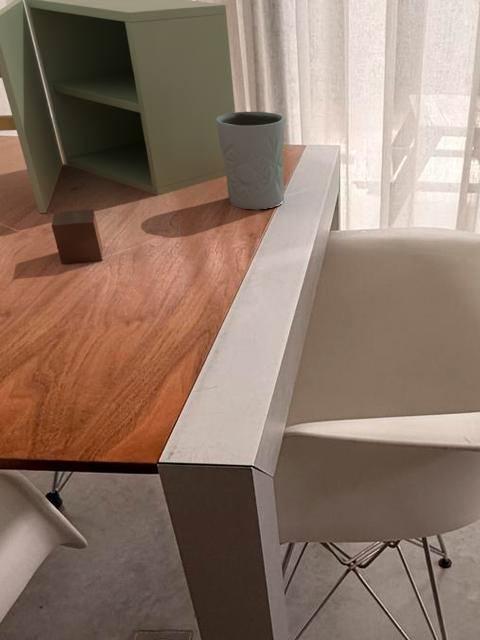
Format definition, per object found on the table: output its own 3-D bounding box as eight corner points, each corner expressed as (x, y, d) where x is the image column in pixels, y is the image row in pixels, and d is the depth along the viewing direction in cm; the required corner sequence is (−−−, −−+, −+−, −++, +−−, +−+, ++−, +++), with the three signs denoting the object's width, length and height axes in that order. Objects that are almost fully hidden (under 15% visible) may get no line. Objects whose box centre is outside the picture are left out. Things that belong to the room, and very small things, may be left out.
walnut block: (61, 264, 88) (51, 225, 84) (63, 250, 91) (53, 212, 88) (102, 260, 89) (93, 222, 85) (102, 246, 92) (93, 209, 89)
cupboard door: (-10, 216, 100) (-74, 19, 85) (16, 166, 120) (-32, -2, 104) (46, 213, 102) (-7, 18, 86) (63, 164, 121) (22, -1, 106)
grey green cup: (243, 216, 103) (235, 128, 95) (213, 198, 109) (203, 114, 101) (300, 204, 108) (297, 120, 100) (268, 188, 114) (263, 107, 106)
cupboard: (158, 196, 109) (128, 12, 94) (64, 164, 122) (23, -3, 106) (240, 172, 120) (225, 4, 105) (146, 145, 133) (120, -9, 117)
